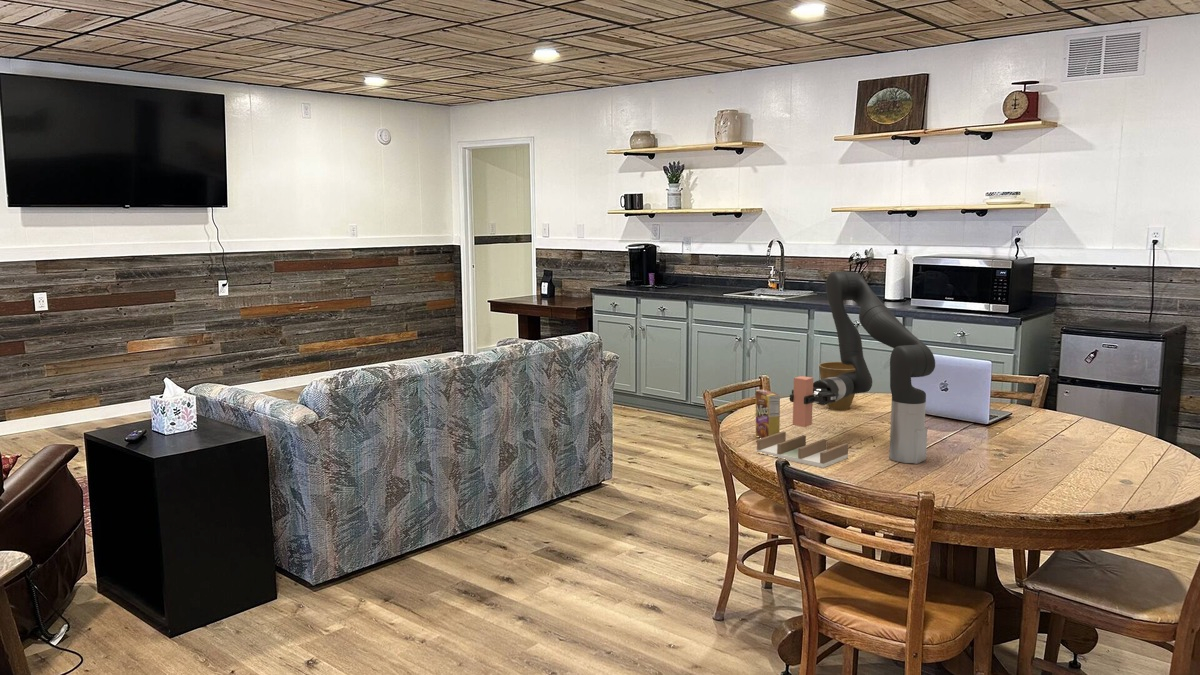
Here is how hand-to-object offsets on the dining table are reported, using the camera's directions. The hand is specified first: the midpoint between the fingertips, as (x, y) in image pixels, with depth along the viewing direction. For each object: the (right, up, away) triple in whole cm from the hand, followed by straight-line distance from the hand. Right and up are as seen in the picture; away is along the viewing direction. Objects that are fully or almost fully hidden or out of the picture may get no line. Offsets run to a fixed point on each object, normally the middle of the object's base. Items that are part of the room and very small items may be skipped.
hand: (798, 399), depth 253 cm
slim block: (+2, -8, +3) cm, 8 cm away
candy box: (-5, -14, +23) cm, 28 cm away
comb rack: (+2, -17, +4) cm, 17 cm away
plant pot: (+30, -8, +67) cm, 74 cm away
